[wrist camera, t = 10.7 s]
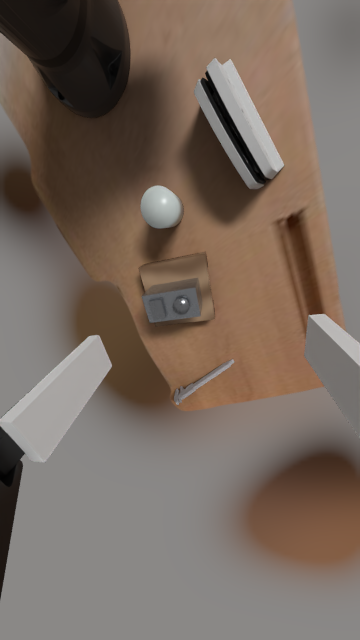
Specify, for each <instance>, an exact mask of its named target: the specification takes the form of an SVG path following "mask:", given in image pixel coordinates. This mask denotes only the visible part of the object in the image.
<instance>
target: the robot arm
mask: <svg viewBox="0 0 360 640" xmlns="http://www.w3.org/2000/svg"><path fill="white" fill-rule="evenodd" d="M0 33H2V34H3V35H4V36H5V37H6V38H7V39H8V40H10V41H11V42H12V43H13V44H14V45H15V46H16V47H18V48H19V49H20V50H21V51H22V52H23V53H24V54H26V55H27V56H28V58H29V60H30V61H31V63H32V64H33V66H34V67H35V69H36V70H37V72H38V73H39V75H40V77H41V78H42V80H43V81H44V83H45V84H46V86H47V87H48V89H49V90H50V91H51V92H52V94H53V95H54V96H55V97H56V98H57V99H58V100H59V101H60V102H61V103H62V104H64V105H65V106H66V107H68V108H69V109H70V110H71V111H73V112H74V113H76V114H78V115H81V116H84V117H90V118H92V117H99V116H102V115H104V114H106V113H107V112H109V111H110V110H111V109H112V108H113V107H114V106H115V105H116V103H117V102H118V101H119V99H120V97H121V95H122V93H123V91H124V89H125V86H126V83H127V79H128V74H129V67H130V41H129V34H128V29H127V24H126V21H125V17H124V14H123V11H122V9H121V7H120V4H119V2H118V0H0ZM304 356H305V358H306V359H307V361H308V362H309V364H310V365H311V367H312V368H313V370H314V371H315V373H316V374H317V376H318V377H319V379H320V380H321V382H322V383H323V385H324V386H325V388H326V389H327V391H328V392H329V393H330V395H331V396H332V398H333V399H334V401H335V402H336V404H337V405H338V407H339V408H340V410H341V411H342V413H343V414H344V416H345V417H346V419H347V420H348V422H349V423H350V425H351V426H352V428H353V429H354V431H355V432H356V434H357V435H358V437H359V438H360V343H358V342H357V341H356V340H355V339H354V338H352V337H351V336H350V335H349V334H348V333H347V332H345V331H344V330H343V329H342V328H341V327H339V326H338V325H337V324H336V323H335V322H333V321H332V320H331V319H330V318H329V317H327V316H326V315H325V314H318V315H309V316H308V325H307V335H306V344H305V353H304ZM111 367H112V365H111V362H110V360H109V358H108V355H107V353H106V351H105V348H104V346H103V344H102V341H101V339H100V337H99V335H96V336H89V337H88V338H87V339H86V340H85V341H84V342H82V343H81V344H80V345H79V346H78V347H77V348H76V349H75V350H74V351H73V352H72V353H71V354H70V355H69V356H68V357H66V358H65V359H64V360H63V361H62V362H61V363H60V364H59V365H58V366H57V367H56V368H55V369H53V370H52V371H51V372H50V373H49V374H48V375H47V376H46V377H45V378H44V379H43V380H42V381H40V382H39V383H38V384H37V385H36V386H35V387H33V389H31V390H30V391H29V392H28V393H27V394H26V395H25V396H24V397H23V398H22V399H21V400H20V401H19V402H17V403H16V404H15V405H14V406H13V407H12V408H11V409H10V410H9V411H8V412H7V413H5V414H4V415H3V416H2V417H1V418H0V598H1V592H2V586H3V580H4V574H5V569H6V563H7V557H8V551H9V544H10V539H11V533H12V527H13V521H14V515H15V509H16V503H17V498H18V492H19V486H20V480H21V473H22V468H23V464H22V461H20V459H21V458H22V456H23V455H24V454H26V455H27V457H28V458H29V459H30V460H31V461H36V462H46V460H47V459H48V457H49V456H50V454H51V453H52V452H53V450H54V449H55V447H56V446H57V444H58V443H59V442H60V440H61V439H62V437H63V436H64V434H65V433H66V432H67V430H68V429H69V427H70V426H71V424H72V423H73V422H74V420H75V419H76V417H77V416H78V414H79V413H80V411H81V410H82V409H83V407H84V406H85V404H86V403H87V401H88V400H89V399H90V397H91V396H92V394H93V393H94V391H95V390H96V388H97V387H98V386H99V384H100V383H101V381H102V380H103V378H104V377H105V375H106V374H107V373H108V371H109V370H110V368H111Z"/></svg>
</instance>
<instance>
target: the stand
mask: <svg viewBox="0 0 360 640" xmlns="http://www.w3.org/2000/svg"><path fill="white" fill-rule="evenodd" d="M138 269H139V272H140V275H141V279H142V282H143V285H144V289H145V292H146V291H147V290H148V289H149V288H150V287H151V286H152V285H158V284H163V283H169V282H175V281H181V280H186V279H192V278H198V279H199V284H200V290H201V296H202V302H203V304H202V311H201V316H200V317H192V318H184V319H176V320H168V321H160V322H155V326H164V325H172V324H180V323H188V322H197V321H205V320H213V319H215V310H214V303H213V300H212V294H211V287H210V281H209V274H208V263H207V256H206V252H202V253H197V254H192V255H187V256H182V257H177V258H172V259H167V260H162V261H157V262H152V263H147V264H144V265H142V266H140V267H139V268H138Z"/></svg>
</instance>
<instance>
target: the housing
mask: <svg viewBox="0 0 360 640" xmlns="http://www.w3.org/2000/svg"><path fill="white" fill-rule="evenodd" d="M142 299H143V302H144V306H145V309H146V312H147V315H148V319H149V322H150V323H152V322H160V321H168V320H176V319H184V318H192V317H200V316H201V311H202V304H203V302H202V296H201V290H200V284H199V279H198V278H192V279H186V280H181V281H175V282H169V283H163V284H158V285H152V286H151V287H150V288H149V289H148V290H147V291H146V292H145V293H144V294H143V295H142Z"/></svg>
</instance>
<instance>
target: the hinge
mask: <svg viewBox="0 0 360 640" xmlns="http://www.w3.org/2000/svg"><path fill="white" fill-rule="evenodd" d="M206 68H207V71H206V73H205V74H206V77H207V79H208V80H206V79H204V78H202V79H201V80H200V79H199V80H198V82H197V84H196V87H195V89H194V94H195V96H196V98H197V100H198V102H199V104H200V106H201V108H202V110H203V112H204V114H205V116H206V118H207V119H208V121H209V123H210V125H211V127H212V129H213V131H214V132H215V134H216V136H217V138H218V139H219V141H220V143H221V145H222V146H223V148H224V150H225V152H226V153H227V155H228V156H229V158H230V160H231V161H232V163H233V165H234V166H235V168H236V169H237V171H238V173H239V174H240V176H241V177H242V179H243V180H244V182H245V183H246V185H247V186H248V187H249V188H250V189H259V188H261V187H263V186H264V183H265V182H266V181H265V180H264V179H267V180H269V179H273V178H274V176H275V175H276V174H277V173H278V172H279V171H280V170H281V169H282V168H283V167H284V164H283V162H282V160H281V158H280V156H279V154H278V152H277V150H276V148H275V146H274V144H273V142H272V140H271V138H270V136H269V134H268V132H267V130H266V128H265V126H264V124H263V122H262V120H261V118H260V116H259V114H258V112H257V110H256V108H255V106H254V104H253V102H252V100H251V98H250V96H249V94H248V92H247V90H246V88H245V86H244V84H243V82H242V80H241V78H240V76H239V74H238V72H237V70H236V68H235V66H234V64H233V63H232V61H231V59H230V60H228V61H227V62H226V63H224V64H223V65H221V64H220V63H219V62H218V61H217V60H216V59H215V58H214V59H213V60H212V61H211V63H210V64H209V65H208V66H207V67H206ZM233 129H234V131H235V133H236V135H237V136H238V138H239V140H240V142H241V143H242V145H243V147H244V149H243V148H242V147H241V145H240V143H239V142H238V140H237V138H236V136H235V134H234V132H233Z"/></svg>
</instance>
